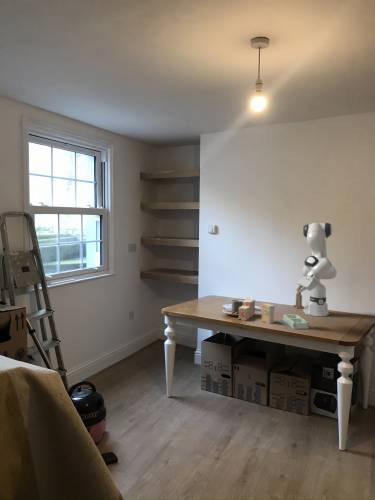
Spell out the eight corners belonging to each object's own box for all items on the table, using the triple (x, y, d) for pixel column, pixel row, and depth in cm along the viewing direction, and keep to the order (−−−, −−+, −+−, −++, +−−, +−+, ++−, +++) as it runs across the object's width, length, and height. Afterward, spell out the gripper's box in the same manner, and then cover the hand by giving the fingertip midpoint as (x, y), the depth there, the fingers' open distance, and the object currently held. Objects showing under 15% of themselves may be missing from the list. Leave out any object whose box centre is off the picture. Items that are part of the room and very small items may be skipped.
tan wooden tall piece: (293, 306, 268) (293, 287, 266) (300, 306, 268) (300, 287, 267) (296, 309, 261) (297, 288, 259) (304, 309, 261) (304, 288, 260)
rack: (282, 319, 282) (282, 314, 282) (296, 319, 283) (296, 314, 283) (293, 328, 259) (293, 323, 258) (308, 328, 259) (308, 322, 259)
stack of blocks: (246, 321, 279) (246, 304, 278) (238, 320, 282) (238, 303, 281) (254, 314, 299) (255, 299, 298) (247, 313, 301) (247, 298, 300)
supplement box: (261, 321, 278) (261, 303, 277) (266, 320, 281) (266, 303, 280) (269, 324, 271) (269, 306, 270) (274, 323, 274) (274, 305, 273)
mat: (276, 320, 281) (276, 320, 281) (303, 320, 282) (303, 319, 282) (286, 329, 259) (286, 328, 259) (315, 328, 261) (315, 328, 261)
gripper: (303, 272, 273) (290, 285, 273) (315, 276, 253) (300, 291, 253) (309, 278, 274) (296, 291, 274) (321, 283, 253) (306, 297, 254)
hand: (298, 291), depth 263 cm, fingers closed on tan wooden tall piece, 3 cm apart
